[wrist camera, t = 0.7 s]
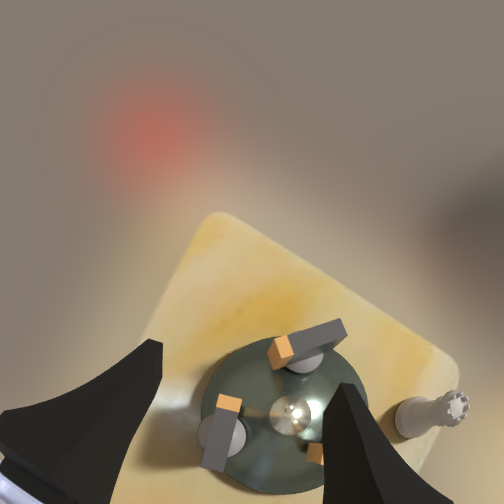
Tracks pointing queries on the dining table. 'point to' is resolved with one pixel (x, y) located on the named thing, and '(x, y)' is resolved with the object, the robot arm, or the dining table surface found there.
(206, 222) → the dining table surface
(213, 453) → the knob
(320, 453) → the grey block
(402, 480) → the robot arm
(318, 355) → the knob
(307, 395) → the base plate
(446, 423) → the rook chess piece
